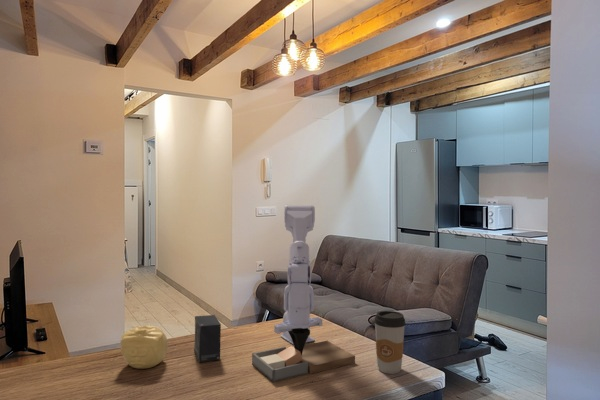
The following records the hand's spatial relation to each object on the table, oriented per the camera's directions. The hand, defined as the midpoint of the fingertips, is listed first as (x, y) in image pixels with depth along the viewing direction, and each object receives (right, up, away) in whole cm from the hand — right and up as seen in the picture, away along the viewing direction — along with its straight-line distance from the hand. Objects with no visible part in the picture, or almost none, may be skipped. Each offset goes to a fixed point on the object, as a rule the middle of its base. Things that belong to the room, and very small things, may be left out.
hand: (298, 354), depth 115 cm
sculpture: (-43, -3, -1) cm, 43 cm away
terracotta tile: (-2, -1, -1) cm, 3 cm away
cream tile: (-7, -2, -4) cm, 8 cm away
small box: (-27, -3, +6) cm, 28 cm away
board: (+6, -3, +4) cm, 7 cm away
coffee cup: (+25, -3, -3) cm, 25 cm away
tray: (-5, -3, -3) cm, 7 cm away
